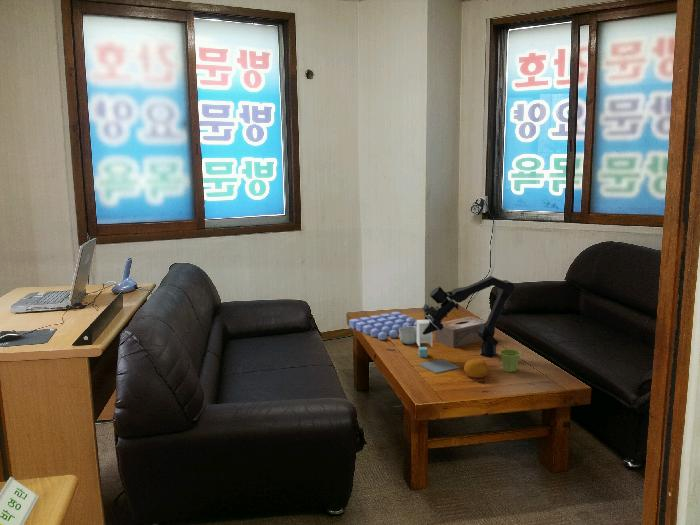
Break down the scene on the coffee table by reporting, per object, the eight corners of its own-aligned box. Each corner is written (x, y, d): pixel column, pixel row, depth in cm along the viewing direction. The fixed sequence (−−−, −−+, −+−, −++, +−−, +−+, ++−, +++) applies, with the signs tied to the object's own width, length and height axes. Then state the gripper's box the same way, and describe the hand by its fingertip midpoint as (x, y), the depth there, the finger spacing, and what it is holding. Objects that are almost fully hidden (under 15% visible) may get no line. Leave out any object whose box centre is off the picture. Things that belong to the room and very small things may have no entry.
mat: (442, 359, 290) (442, 358, 290) (459, 368, 278) (459, 367, 277) (418, 364, 283) (418, 363, 283) (435, 373, 271) (435, 372, 271)
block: (426, 354, 298) (426, 347, 298) (427, 357, 294) (427, 349, 294) (418, 354, 298) (418, 347, 298) (419, 357, 294) (419, 349, 294)
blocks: (397, 319, 367) (397, 311, 367) (431, 332, 338) (431, 324, 337) (349, 327, 350) (348, 319, 349) (381, 342, 321) (381, 333, 320)
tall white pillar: (429, 342, 295) (429, 319, 293) (432, 346, 289) (432, 322, 286) (416, 343, 294) (416, 319, 292) (419, 347, 288) (419, 323, 286)
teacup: (418, 346, 311) (418, 331, 310) (397, 345, 313) (397, 330, 312) (420, 338, 325) (420, 324, 323) (400, 337, 327) (400, 323, 326)
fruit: (468, 370, 274) (468, 354, 273) (490, 374, 269) (491, 357, 268) (460, 377, 265) (461, 361, 264) (483, 382, 260) (483, 364, 259)
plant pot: (516, 375, 268) (517, 356, 266) (496, 371, 273) (497, 353, 271) (522, 368, 276) (523, 351, 274) (502, 365, 281) (503, 348, 279)
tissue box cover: (453, 348, 308) (453, 329, 306) (435, 341, 320) (435, 323, 319) (488, 339, 322) (488, 322, 320) (469, 333, 334) (470, 316, 332)
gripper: (428, 294, 297) (406, 316, 298) (437, 303, 279) (414, 326, 280) (443, 309, 299) (422, 330, 300) (453, 318, 281) (430, 341, 282)
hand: (421, 332), depth 290 cm, fingers closed on tall white pillar, 7 cm apart
